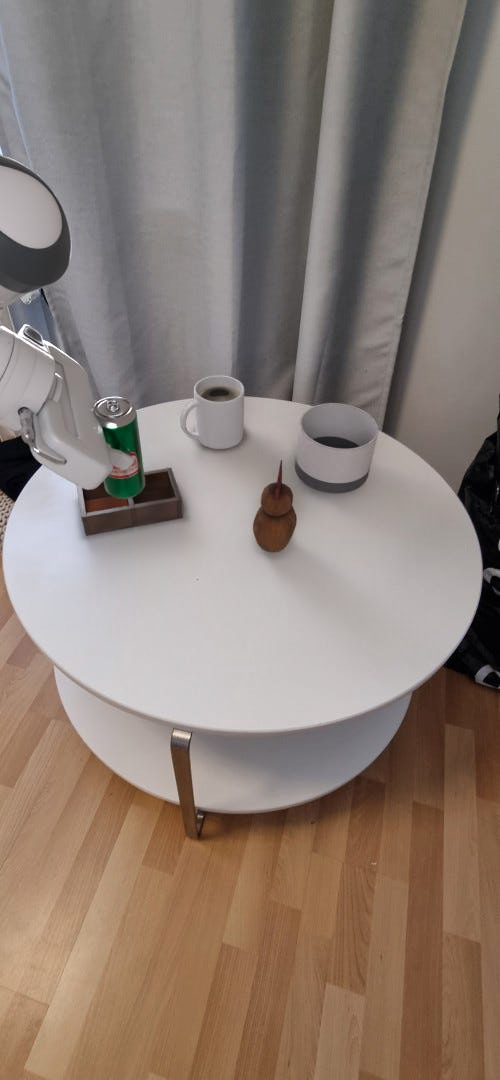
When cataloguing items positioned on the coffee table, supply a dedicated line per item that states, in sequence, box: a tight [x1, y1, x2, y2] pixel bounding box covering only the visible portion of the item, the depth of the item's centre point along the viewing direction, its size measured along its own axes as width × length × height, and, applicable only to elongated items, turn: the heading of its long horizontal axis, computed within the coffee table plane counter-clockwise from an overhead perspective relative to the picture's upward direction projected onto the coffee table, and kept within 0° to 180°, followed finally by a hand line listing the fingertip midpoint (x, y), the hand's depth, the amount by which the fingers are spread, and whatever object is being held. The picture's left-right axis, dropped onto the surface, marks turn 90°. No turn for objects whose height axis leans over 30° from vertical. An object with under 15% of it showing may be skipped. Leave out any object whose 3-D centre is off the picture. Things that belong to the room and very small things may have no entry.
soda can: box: [93, 396, 145, 499], centre depth 70 cm, size 5×5×12 cm
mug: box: [179, 374, 245, 450], centre depth 106 cm, size 11×10×10 cm
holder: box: [75, 467, 184, 537], centre depth 94 cm, size 15×8×4 cm, turn 107°
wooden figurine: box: [252, 459, 298, 553], centre depth 86 cm, size 7×6×15 cm
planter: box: [294, 402, 380, 494], centre depth 99 cm, size 13×13×10 cm
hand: (123, 445), depth 69 cm, fingers closed on soda can, 5 cm apart
